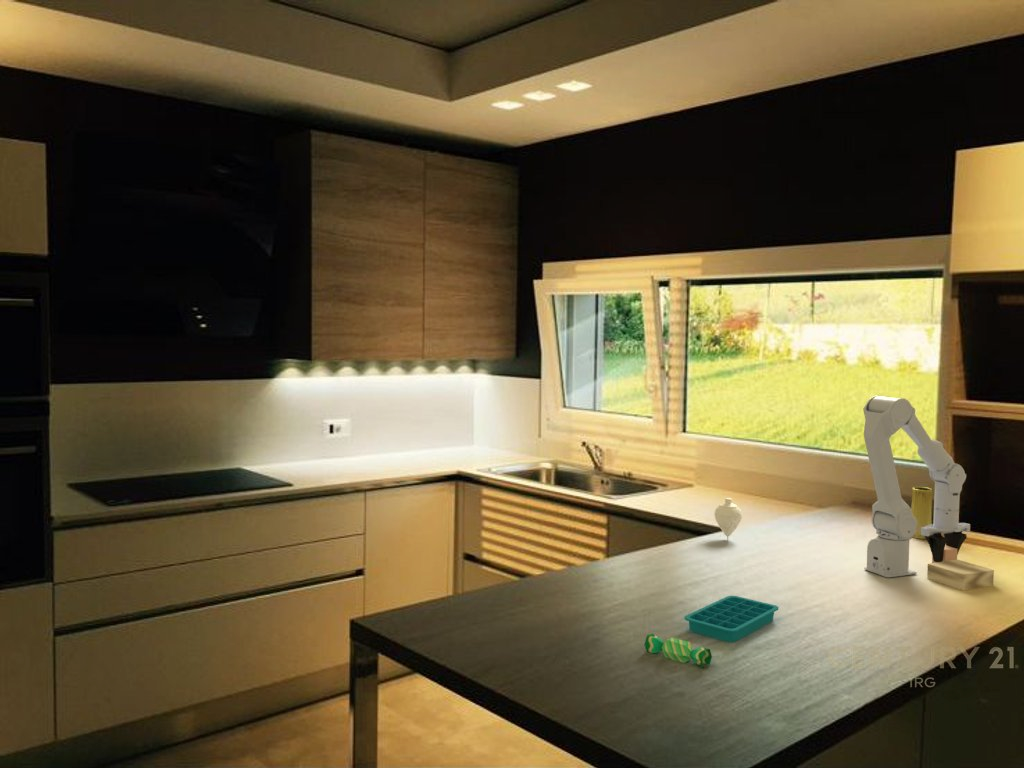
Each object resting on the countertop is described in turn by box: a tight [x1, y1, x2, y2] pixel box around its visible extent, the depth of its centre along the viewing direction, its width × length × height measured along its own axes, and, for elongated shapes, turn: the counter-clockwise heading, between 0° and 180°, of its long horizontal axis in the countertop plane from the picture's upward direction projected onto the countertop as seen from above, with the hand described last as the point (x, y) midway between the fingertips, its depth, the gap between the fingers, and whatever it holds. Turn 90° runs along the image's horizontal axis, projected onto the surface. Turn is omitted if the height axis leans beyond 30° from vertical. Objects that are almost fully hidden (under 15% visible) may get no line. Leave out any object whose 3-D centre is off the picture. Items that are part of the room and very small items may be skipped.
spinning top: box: [714, 497, 743, 540], centre depth 246 cm, size 8×8×12 cm
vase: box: [910, 486, 933, 540], centre depth 249 cm, size 6×6×14 cm
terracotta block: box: [931, 544, 958, 563], centre depth 219 cm, size 4×4×5 cm
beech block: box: [926, 559, 995, 591], centre depth 206 cm, size 10×10×4 cm
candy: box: [643, 633, 713, 668], centre depth 158 cm, size 12×3×4 cm
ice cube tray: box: [683, 595, 779, 643], centre depth 176 cm, size 12×20×3 cm, turn 137°
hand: (944, 561), depth 219 cm, fingers closed on terracotta block, 4 cm apart
